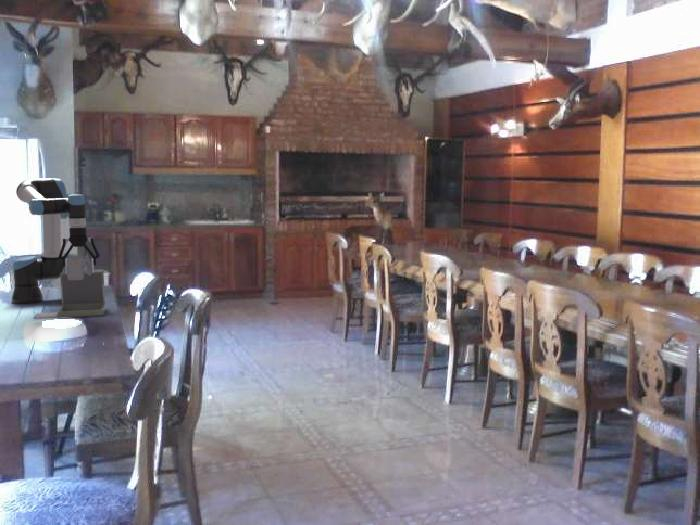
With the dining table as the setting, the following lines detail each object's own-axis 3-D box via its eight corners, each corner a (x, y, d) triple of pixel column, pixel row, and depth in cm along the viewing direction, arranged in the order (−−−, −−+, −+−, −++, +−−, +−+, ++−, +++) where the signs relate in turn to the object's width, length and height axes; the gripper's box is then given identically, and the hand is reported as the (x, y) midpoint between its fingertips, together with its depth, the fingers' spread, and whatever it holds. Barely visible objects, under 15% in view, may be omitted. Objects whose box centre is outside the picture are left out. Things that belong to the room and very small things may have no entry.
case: (62, 311, 364) (60, 272, 361) (105, 308, 369) (103, 270, 367) (58, 318, 346) (55, 278, 343) (103, 315, 351) (101, 276, 349)
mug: (66, 278, 355) (64, 254, 354) (91, 277, 361) (90, 252, 360) (68, 280, 349) (67, 255, 347) (94, 279, 354) (93, 254, 353)
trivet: (36, 314, 355) (36, 313, 355) (58, 313, 358) (58, 312, 358) (33, 318, 346) (33, 317, 346) (56, 317, 348) (56, 316, 348)
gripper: (50, 228, 345) (52, 275, 348) (103, 227, 351) (105, 272, 354) (52, 227, 352) (54, 272, 355) (104, 225, 358) (106, 270, 361)
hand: (80, 272), depth 355 cm, fingers closed on mug, 11 cm apart
